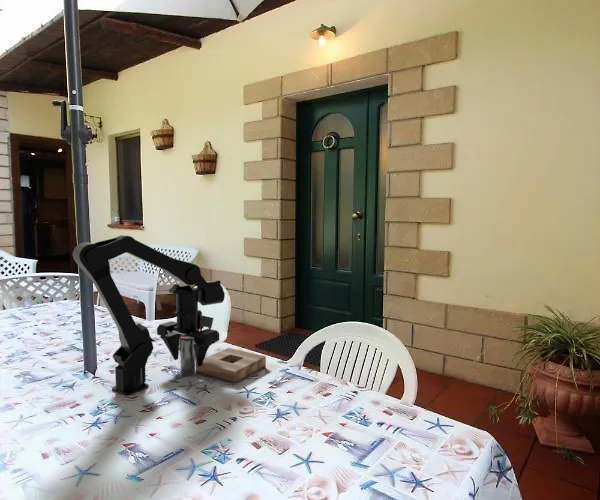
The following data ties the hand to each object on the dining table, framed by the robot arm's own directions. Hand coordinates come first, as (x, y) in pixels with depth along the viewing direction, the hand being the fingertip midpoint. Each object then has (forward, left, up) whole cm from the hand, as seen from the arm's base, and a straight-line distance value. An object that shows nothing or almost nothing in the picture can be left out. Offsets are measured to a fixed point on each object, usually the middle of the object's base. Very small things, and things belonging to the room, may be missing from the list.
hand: (187, 362), depth 115 cm
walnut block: (+8, -9, -3) cm, 12 cm away
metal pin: (0, 0, -3) cm, 3 cm away
